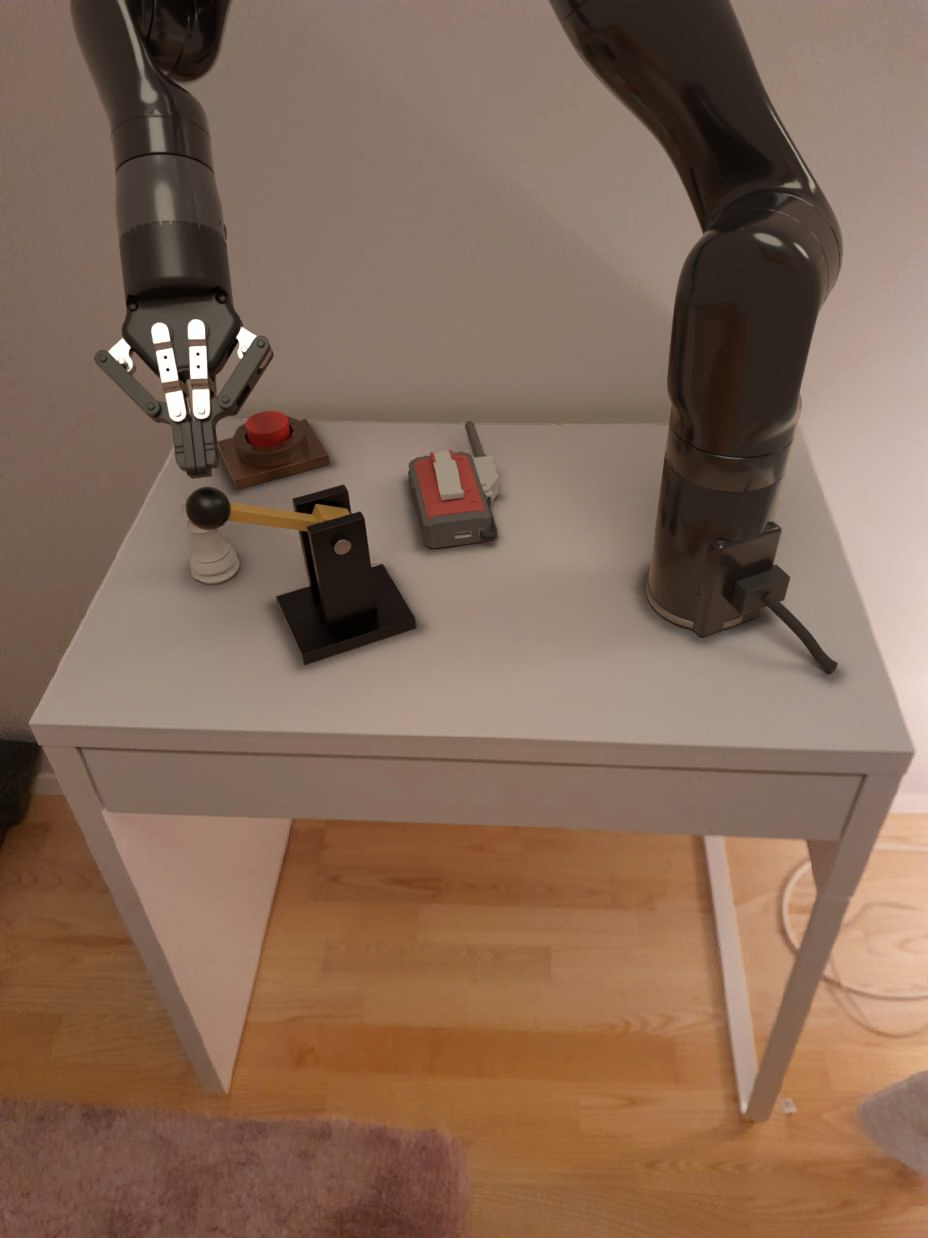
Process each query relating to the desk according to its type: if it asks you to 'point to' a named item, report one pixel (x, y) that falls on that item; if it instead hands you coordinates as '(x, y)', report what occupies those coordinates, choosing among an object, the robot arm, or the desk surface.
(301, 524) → the lever
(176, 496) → the desk surface
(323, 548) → the black lever base
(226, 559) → the rook chess piece
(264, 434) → the button
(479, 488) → the walkie-talkie
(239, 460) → the block
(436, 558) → the desk surface
